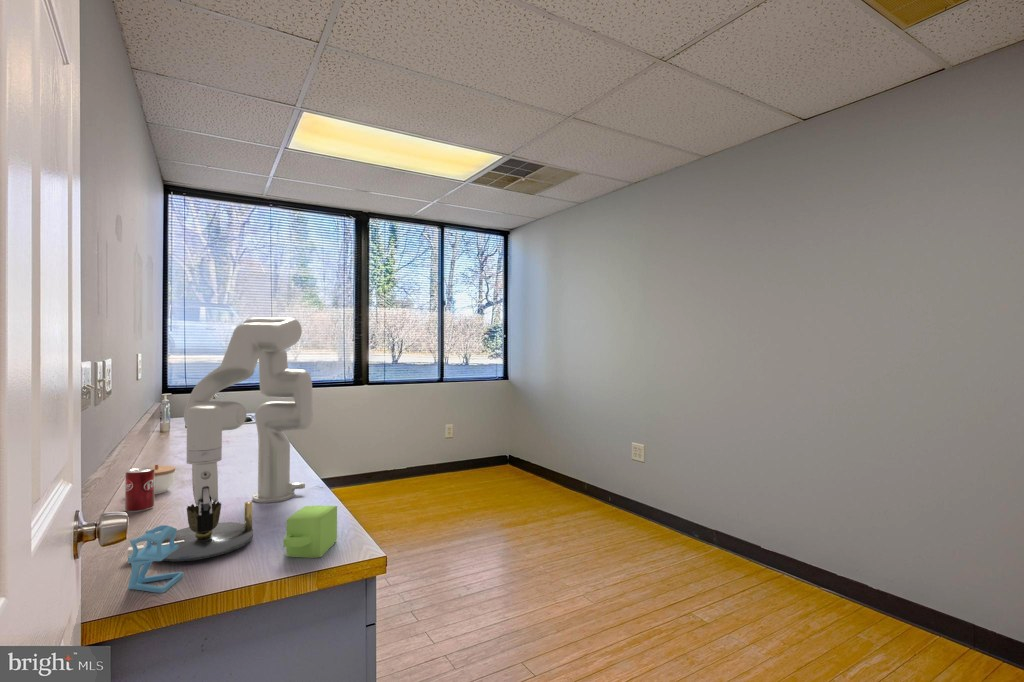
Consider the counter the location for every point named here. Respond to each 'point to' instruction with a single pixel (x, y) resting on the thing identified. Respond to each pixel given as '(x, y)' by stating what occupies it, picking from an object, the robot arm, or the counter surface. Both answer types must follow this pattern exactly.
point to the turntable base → (130, 550)
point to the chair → (152, 559)
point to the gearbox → (311, 531)
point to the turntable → (211, 540)
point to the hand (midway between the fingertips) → (203, 525)
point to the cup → (192, 519)
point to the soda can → (139, 489)
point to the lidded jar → (163, 478)
